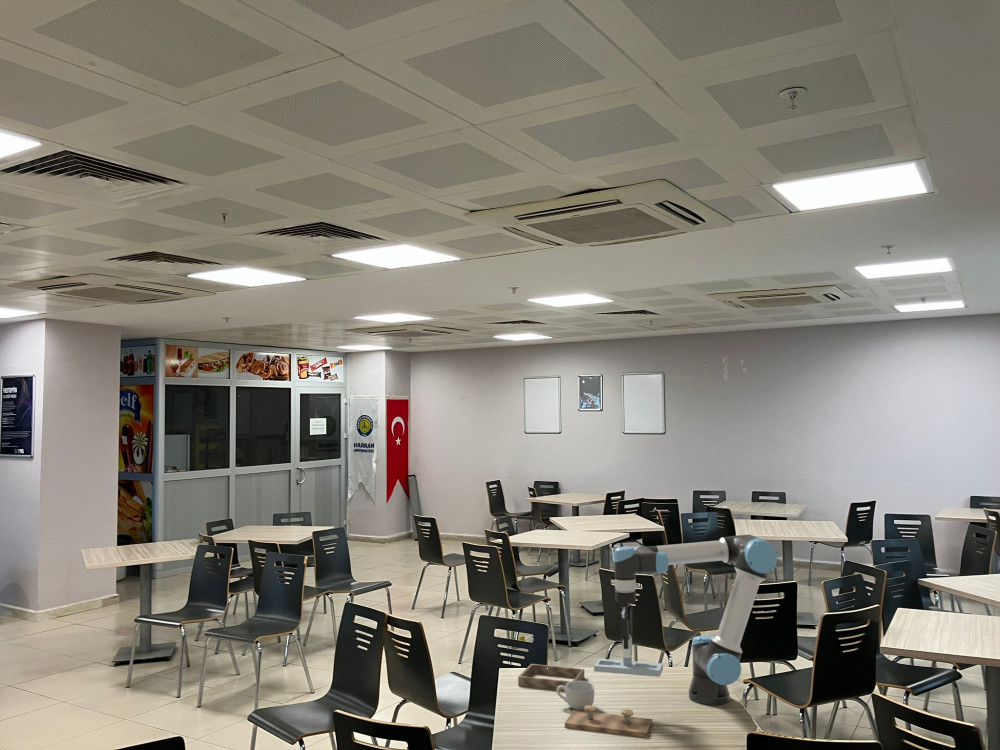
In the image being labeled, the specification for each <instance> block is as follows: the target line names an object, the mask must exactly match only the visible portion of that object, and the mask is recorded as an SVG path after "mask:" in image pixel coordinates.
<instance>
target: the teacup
mask: <svg viewBox="0 0 1000 750" xmlns="http://www.w3.org/2000/svg"><path fill="white" fill-rule="evenodd" d="M560 688H563V689H564V691H563V692H564V693H565V695H563V694H561V692H560V690H559V689H560ZM556 694H557V695H558V697H559V698H561V699H563V701H564V702H565V703H567V705H568V706H569V707H570V708H571V709H573V710H578V711H585V710H584V707H585V706H587V705H592V706H593V705H594V703H595V702H594V701H595V685H594V684H593V683H591V682H589V681H585V680H582V681H573V680H572V681H571V682H568V683H567V684H566V687H565V686H563V685H560V686H558V687H557V690H556Z"/></svg>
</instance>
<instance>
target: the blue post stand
mask: <svg viewBox="0 0 1000 750" xmlns="http://www.w3.org/2000/svg"><path fill="white" fill-rule="evenodd" d="M631 637H632V636H631V634H629V638H630V653H631ZM632 656H633V652H632V653H631V658H623V657H622V659H623V660H620V659H609V658H608V659H607V658H598V659H597V661H596V662H595V664H594V665H593V672H595V673H597V672H598V673H608V674H622V675H632V676H633V675H634V676H644V677H645V676H646V677H657V678H660V677H661V676H662V672H663V670H664V663H660V662H657V663H656V662H647V661H636V660H635V661H634V660H633V658H632Z"/></svg>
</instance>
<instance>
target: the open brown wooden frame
mask: <svg viewBox="0 0 1000 750" xmlns="http://www.w3.org/2000/svg"><path fill="white" fill-rule="evenodd" d="M547 668H548V669H547ZM533 674H537V675H547V676H557V677H564V678H565V677H568V678H573V680H572V681H584V679H585V668H579V667H577V668H575V667H568V666H566V667H565V666H555V665H547V664H538V663H537V664H536V663H531V664H529V665H528V666H527V667H526V668H525V669H524V670H523V671H522V673H520V674H519V676H518V677H517V686H518V687H527V688H528V687H529V688H537V689H545V688H548V689H547V690H554V689H555V690H556V691H557V687H558V686H560V685H563V686H565V687H566V684H567V683H568V682H571V681H570V680H562V679H552V678H542V677H541V678H540V677H532V675H533ZM559 691H563V692H565V691H564V689H563V688H560V689H559Z"/></svg>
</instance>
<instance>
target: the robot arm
mask: <svg viewBox="0 0 1000 750" xmlns="http://www.w3.org/2000/svg"><path fill="white" fill-rule="evenodd" d="M613 553H614V555H613V563H614V565H613V566H614V580H613V584H615V585H614V589H615V592H614V594H615V595H614V597H615V598H614V599H615V602H617V603H620V604H621V606H620V607H619V613H618V614H619V619H620V620H619V621H620V622H619V623H620V637H619V639H620V640H622V641H621V642H622V644H621V645H622V659H623V658H631V653H632V654H633V638H632V637H634V635H635V634H634V633H633V632H634V631H633V605H632V604H634V603H636V601H637V593H636V592H637V591H636V589H637V585H636V584H637V583H636V582H637V581H636V580H637V579H636V574H637V575H640V574H657V575H658V574H663V573H664V574H666V573H667V572H668V571H669V566H670V565H673V566H674V565H683V564H684V565H685V564H694V563H695V564H696V563H706V562H719V561H720V562H721V561H722V562H723V563H725V564H729V563H734V564H735V565H734V570H735V572H736V575H735V579H734V582H733V584H732V588H731V591H730V593H729V596H728V599H727V602H726V603H727V604H726V606H725V609H724V612H723V615H722V617H721V621H720V623H719V627H718V630H717V633H716V635H697V636H694V637H693V638H692V643H691V647H692V651H691V652H692V678H691V681H690V685H689V688H688V697H689V699H690V700H691V701H693V702H695V703H698V704H702V705H710V706H716V705H717V706H718V705H724V704H727V703H729V702H730V701H731V696H730V695H731V694H730V691H729V688H728V686H730V685H731V684H733V683H735V682H737V681H738V679H739V678H740V676H741V673H742V665H741V662H740V660H741V657H742V655H743V650H742V648H741V642H742V641H743V636H744V633H745V630H746V627H747V624H748V621H749V618H750V614H751V612H752V610H753V609H752V608H753V605H754V602H755V599H756V597H757V593H758V590H759V587H760V585H761V583H762V582H764V581H767V577H768V575H769V572H771V571H773V569H775V567H776V566H777V562H778V554H777V550H776V549H775V547H774V546H773V544H772V543H771V542H768V541H767V540H766V539H764V538H760V537H757V536H755V535H752V534H741V535H740V534H739V535H732V536H724V537H723V536H722V537H720V538H719V540H709V541H698V542H689V543H677V544H676V543H674V544H666V545H664V544H663V545H655V546H645V545H637V546H636V547H631V546H620V547H619V546H618V547H616V548H615V549H614V552H613ZM629 634H631V653H630V638H629Z"/></svg>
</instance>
